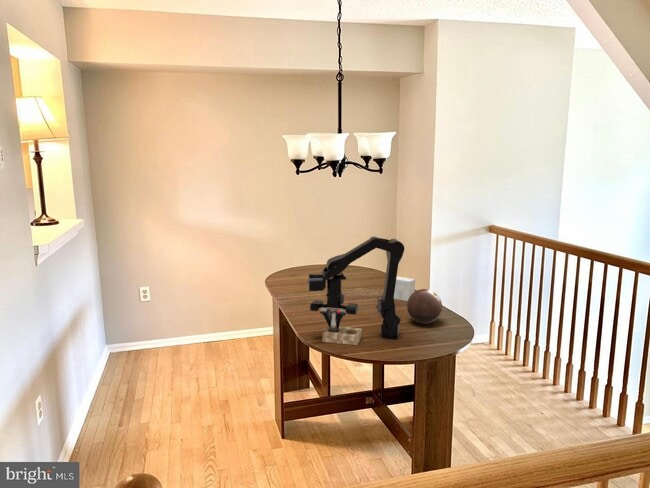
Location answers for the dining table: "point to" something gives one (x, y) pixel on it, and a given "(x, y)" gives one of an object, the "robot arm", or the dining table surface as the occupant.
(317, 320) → the dining table surface
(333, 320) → the metal pin
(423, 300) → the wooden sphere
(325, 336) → the pin block
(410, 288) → the skincare box
